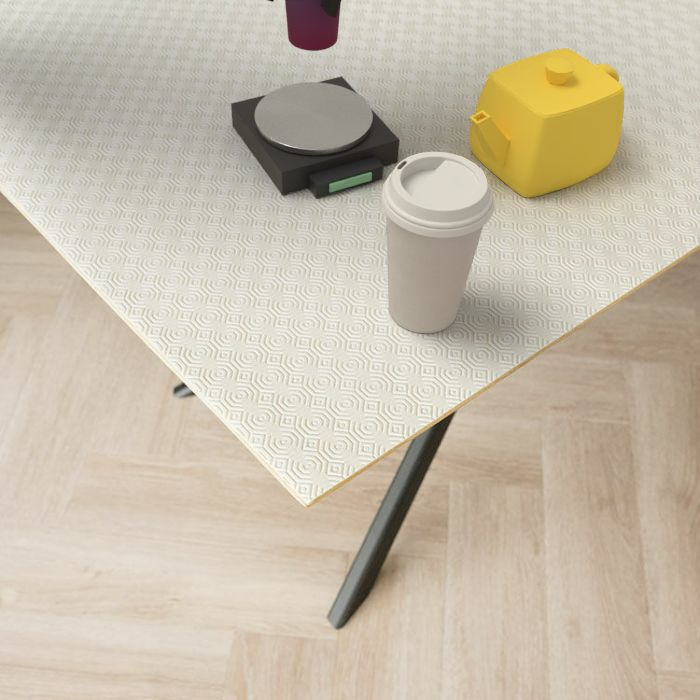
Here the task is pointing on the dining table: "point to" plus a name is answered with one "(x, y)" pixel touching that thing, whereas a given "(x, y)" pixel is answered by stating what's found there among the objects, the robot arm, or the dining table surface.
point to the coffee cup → (432, 236)
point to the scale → (318, 170)
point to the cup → (310, 25)
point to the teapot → (548, 121)
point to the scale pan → (313, 118)
